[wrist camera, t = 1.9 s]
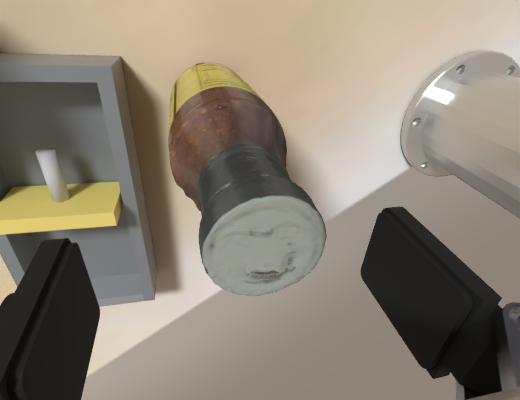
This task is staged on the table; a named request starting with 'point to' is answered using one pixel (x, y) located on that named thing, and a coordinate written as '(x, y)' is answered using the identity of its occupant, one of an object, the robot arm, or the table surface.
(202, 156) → the sauce bottle
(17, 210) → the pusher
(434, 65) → the table surface
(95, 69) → the grey tray
